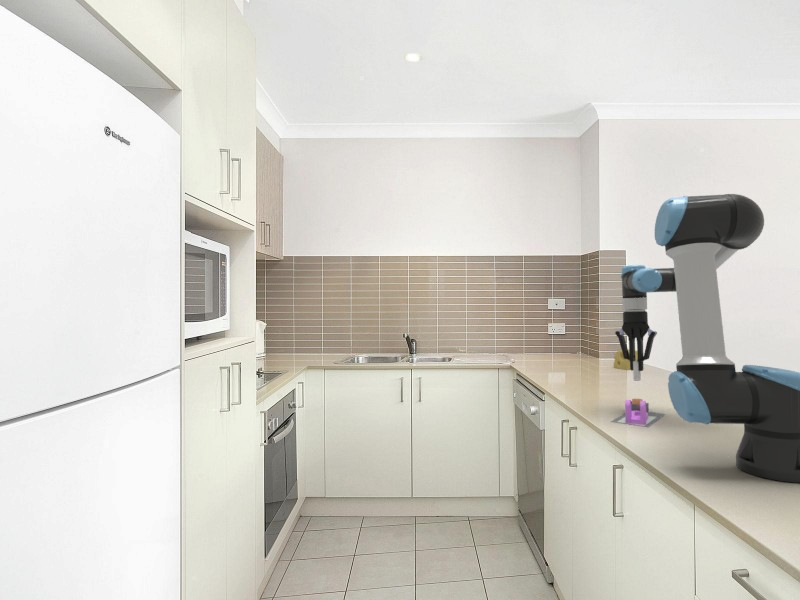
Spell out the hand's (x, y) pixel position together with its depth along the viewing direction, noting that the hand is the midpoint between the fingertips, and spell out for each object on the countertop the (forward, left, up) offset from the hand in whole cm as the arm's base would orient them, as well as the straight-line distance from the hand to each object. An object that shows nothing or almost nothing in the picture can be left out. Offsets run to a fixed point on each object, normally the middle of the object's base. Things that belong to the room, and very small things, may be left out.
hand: (637, 380), depth 164 cm
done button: (0, 0, -11) cm, 11 cm away
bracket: (-10, -3, -11) cm, 15 cm away
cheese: (+105, +34, -12) cm, 111 cm away
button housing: (0, 0, -11) cm, 11 cm away
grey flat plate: (-7, -2, -11) cm, 14 cm away
